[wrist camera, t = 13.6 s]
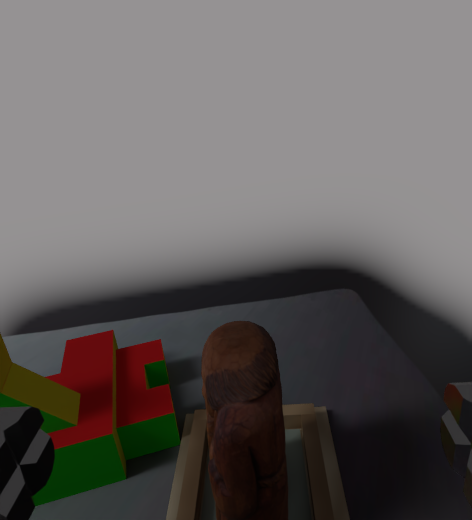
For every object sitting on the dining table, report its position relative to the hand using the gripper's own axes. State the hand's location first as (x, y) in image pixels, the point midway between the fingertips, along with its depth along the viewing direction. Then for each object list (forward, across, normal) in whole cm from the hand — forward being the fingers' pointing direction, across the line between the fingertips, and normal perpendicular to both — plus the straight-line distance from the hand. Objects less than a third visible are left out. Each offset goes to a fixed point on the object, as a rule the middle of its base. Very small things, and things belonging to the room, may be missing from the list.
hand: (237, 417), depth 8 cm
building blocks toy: (+30, +24, +30) cm, 49 cm away
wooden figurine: (+19, +2, +29) cm, 35 cm away
